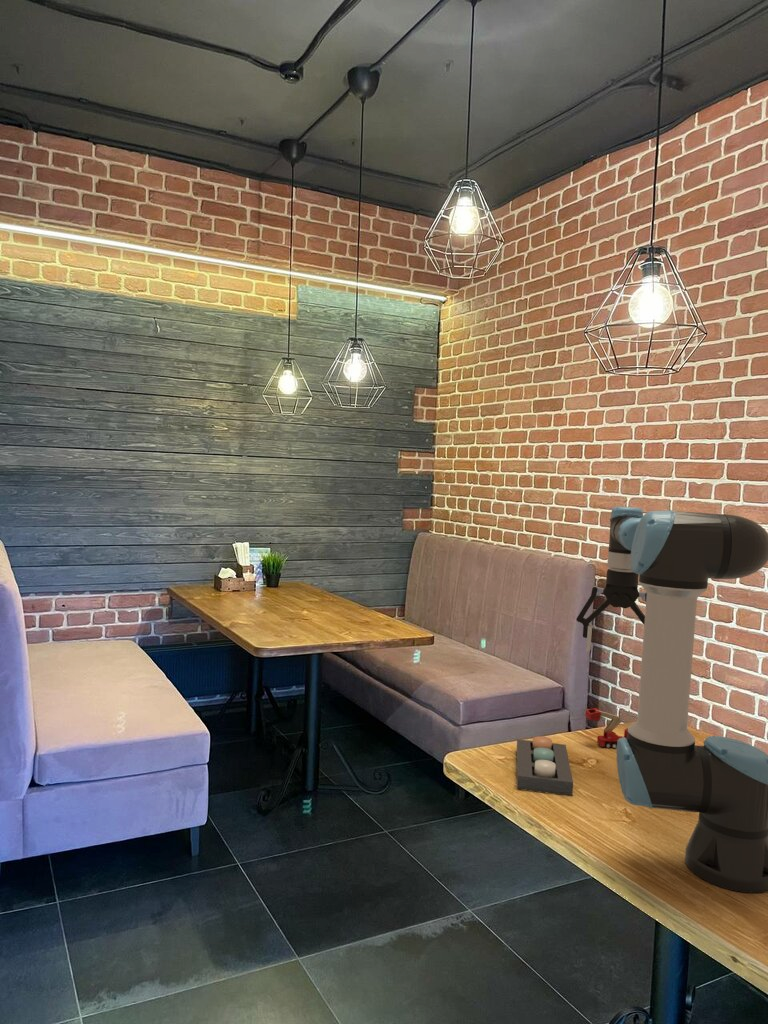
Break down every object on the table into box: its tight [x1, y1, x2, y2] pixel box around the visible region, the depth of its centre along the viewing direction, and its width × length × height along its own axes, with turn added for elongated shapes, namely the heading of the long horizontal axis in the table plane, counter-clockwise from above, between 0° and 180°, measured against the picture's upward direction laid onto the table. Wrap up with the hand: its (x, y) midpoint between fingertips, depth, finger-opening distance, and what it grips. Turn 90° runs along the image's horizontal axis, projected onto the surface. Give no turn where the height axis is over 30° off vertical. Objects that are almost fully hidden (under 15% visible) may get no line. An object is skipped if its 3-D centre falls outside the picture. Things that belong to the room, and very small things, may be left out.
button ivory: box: [534, 760, 556, 778], centre depth 171 cm, size 5×5×3 cm
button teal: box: [533, 748, 554, 763], centre depth 179 cm, size 5×5×3 cm
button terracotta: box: [532, 735, 553, 751], centre depth 187 cm, size 5×5×3 cm
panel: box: [515, 738, 574, 797], centre depth 179 cm, size 24×12×3 cm, turn 170°
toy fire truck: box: [585, 707, 628, 749], centre depth 199 cm, size 3×14×10 cm, turn 94°
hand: (616, 655), depth 187 cm, fingers open, 13 cm apart
